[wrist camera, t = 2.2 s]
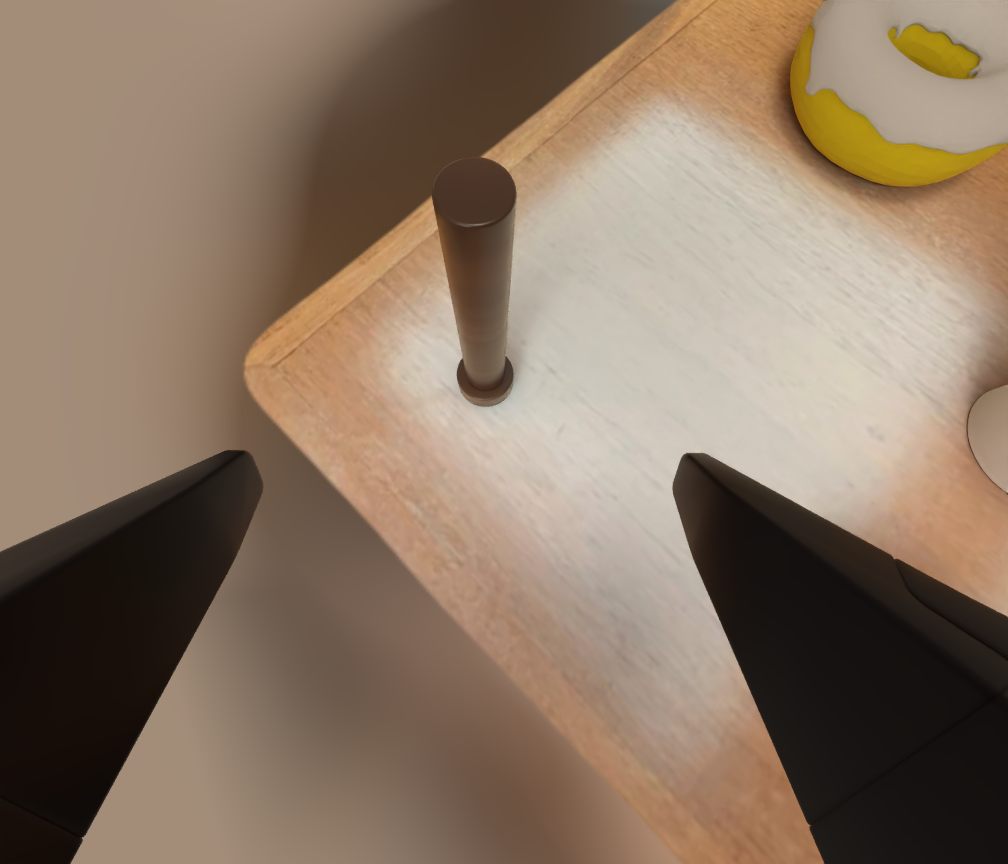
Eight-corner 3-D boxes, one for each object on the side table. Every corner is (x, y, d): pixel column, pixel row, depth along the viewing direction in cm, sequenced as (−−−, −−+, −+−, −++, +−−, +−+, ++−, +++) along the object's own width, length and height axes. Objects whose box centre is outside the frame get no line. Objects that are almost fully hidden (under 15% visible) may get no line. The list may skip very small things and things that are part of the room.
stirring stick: (514, 405, 22) (542, 244, 9) (459, 408, 22) (409, 247, 9) (511, 354, 22) (533, 136, 10) (458, 356, 22) (409, 138, 10)
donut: (732, 72, 27) (784, -26, 22) (888, 14, 29) (969, -90, 24) (853, 231, 25) (942, 160, 20) (1018, 157, 26) (1138, 74, 21)
